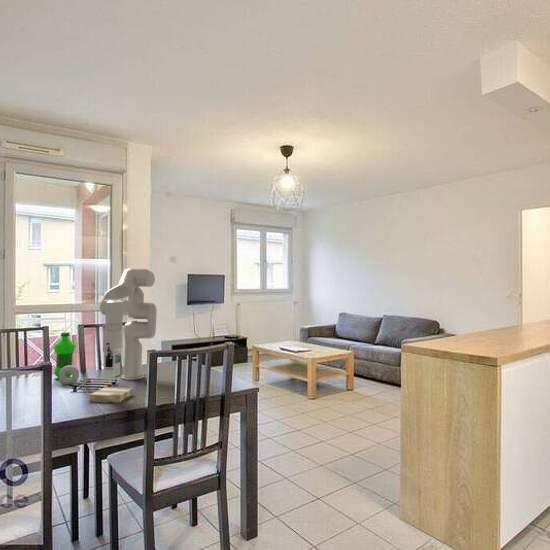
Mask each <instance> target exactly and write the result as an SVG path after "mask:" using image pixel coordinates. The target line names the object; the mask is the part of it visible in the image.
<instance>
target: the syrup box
mask: <svg viewBox="0 0 550 550" xmlns="http://www.w3.org/2000/svg"><path fill="white" fill-rule="evenodd" d="M108 352H111V351H108ZM108 354H111V353H108ZM112 359H113V367H111V368H110V367H105V362H106V359H105V355H104V354H103V375H102V376H103V377H102V378H103V380H105V381H107V380H108V381H115V380H117V379H121V375H122V348H121V347H119V348H116V349H114V352H113V355H112Z"/></svg>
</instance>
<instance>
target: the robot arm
mask: <svg viewBox="0 0 550 550" xmlns="http://www.w3.org/2000/svg"><path fill="white" fill-rule="evenodd" d="M155 278H156V277H155V274H154V273H153V272H152V270H149V269H146V268H126V269H124V271H123V272H122V275H121V276H120V279H119V281H118V284H117V285H116V286H113V287H112V288H110V289H109V290H108V291H106V292H105V293H104V295H103V297H102V299H101V302H100V303H99V304H100V305H99V311H100V313H101V314H102V315H104V316H105V318H104V319H105V321H104V323H105V325H104V334H103V341H102V352H103V356H104V355H105V359H106V362H105V367H110V368H111V367H113V359H112V355H113V352H114V349H116V348H119V347H121V349H122V348H123V337H124V352H123V353H124V356H123V359H124V360H123V374H121V378H120V379H122V380H127V381H135V380H141V379H143V378H145V374H144V373H142V371H144V368H143V367H142V365H143V362H142V361H143V344H142V343H141V341H140V340H141V339H150V340H151V339H153V338H155V336H156V331H157V314H158V313H157V307H156V305H155V303H153V302H145V301H144V300H145V294H144V291H143V290H142V289H141V287H142V288H143V287H144V288H145V287H146V288H149V287H150V288H151V287H153V286H154V284H155V280H156V279H155ZM125 298H128V299H127V300H126V299H125ZM123 316H127V317H128V318H129V319H131V320H147V321H128V322H126V323H124V325H123V318H124V317H123ZM122 331H123V333H122ZM122 334H123V335H122ZM108 351H111V352H108ZM108 353H111V354H108Z"/></svg>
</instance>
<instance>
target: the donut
mask: <svg viewBox="0 0 550 550" xmlns="http://www.w3.org/2000/svg"><path fill="white" fill-rule="evenodd" d="M67 372H71V373H72V375H71V376H70V377H69V378H67V376H66V373H67ZM79 378H80V371H79V369H78V367H76V366H74V365H72V366H71V365H68V366H65V367H63V368H62V369H61V370H60V372H59V378H58V379H59V380H60V382H61V383H62V384H64V385H74V384H75V383H76V382H77V381H78V380H79Z"/></svg>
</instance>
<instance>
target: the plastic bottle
mask: <svg viewBox="0 0 550 550" xmlns="http://www.w3.org/2000/svg"><path fill="white" fill-rule="evenodd" d="M70 335H71V334H70V331H67V332H66V331H63V332H60V337H61V339H60V340H59V341H58V342H56V343H55V344H54V346H53V347H54V348H53V349H54V350H53V351H54V353H55V354H56V360H55V362H56V365H55V368H54V372H53V373H54V375H55V377H57V378H58V379H59V372H60V370H61V369H62V368H63V367H65V366H68V365H71V366H73V356H74V355H73V353H75V350H76V344H75V343H74V342H73V341H72V340H71V339H69V337H70ZM66 376H67V378H71V377H72V373H71V372H67V373H66Z"/></svg>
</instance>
